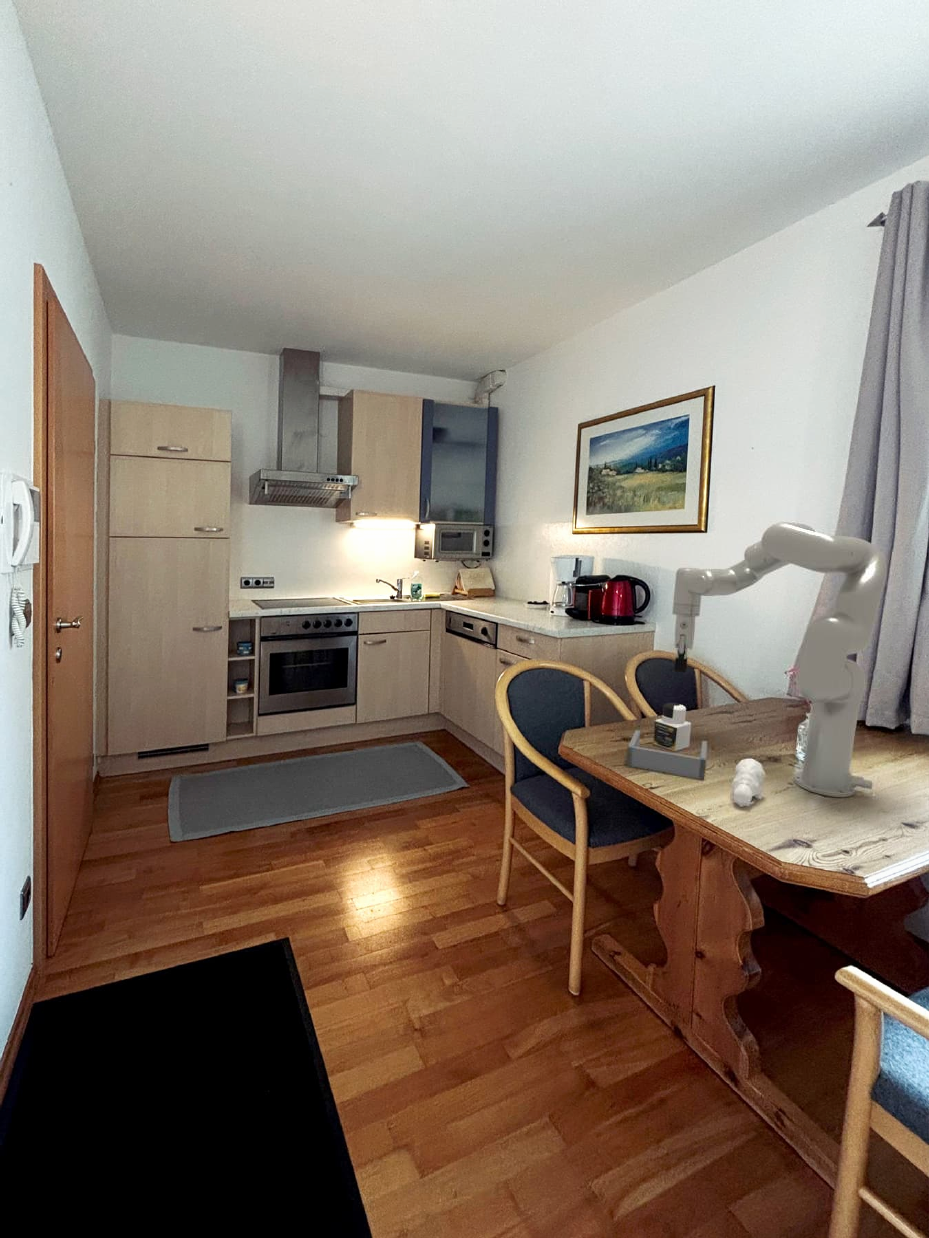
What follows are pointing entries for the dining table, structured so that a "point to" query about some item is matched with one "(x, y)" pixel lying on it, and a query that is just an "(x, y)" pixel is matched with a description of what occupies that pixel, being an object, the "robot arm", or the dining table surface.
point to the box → (666, 760)
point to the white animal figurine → (747, 781)
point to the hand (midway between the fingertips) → (680, 670)
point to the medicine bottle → (672, 728)
